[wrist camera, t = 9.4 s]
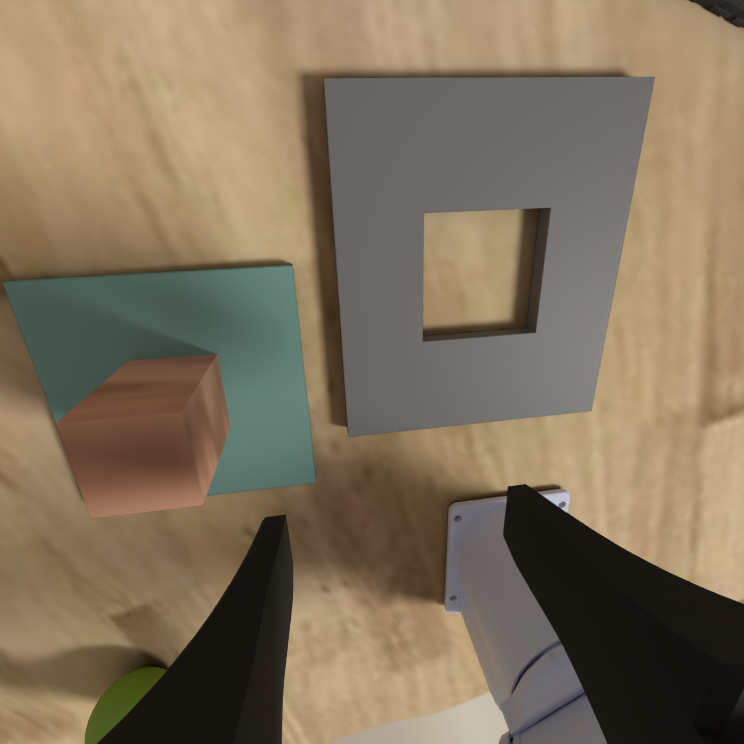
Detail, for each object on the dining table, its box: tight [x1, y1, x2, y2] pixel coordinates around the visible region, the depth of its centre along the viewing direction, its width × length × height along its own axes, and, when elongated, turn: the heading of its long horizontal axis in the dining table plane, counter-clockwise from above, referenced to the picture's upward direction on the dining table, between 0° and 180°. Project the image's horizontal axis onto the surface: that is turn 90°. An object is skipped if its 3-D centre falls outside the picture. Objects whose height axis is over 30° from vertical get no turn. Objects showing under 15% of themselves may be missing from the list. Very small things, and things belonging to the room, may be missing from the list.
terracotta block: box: [55, 354, 231, 518], centre depth 17 cm, size 4×4×6 cm
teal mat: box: [3, 264, 316, 496], centre depth 20 cm, size 12×12×1 cm
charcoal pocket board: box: [323, 77, 655, 437], centre depth 20 cm, size 16×14×1 cm
